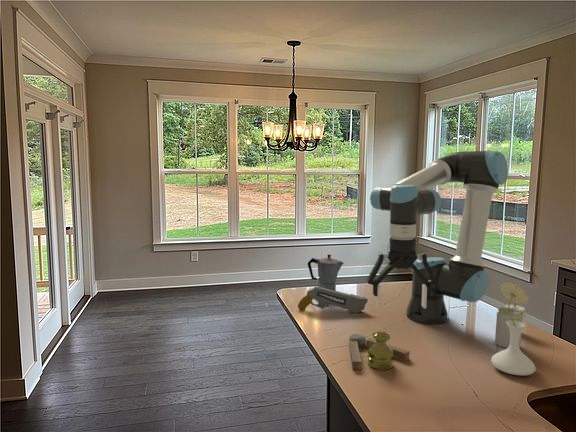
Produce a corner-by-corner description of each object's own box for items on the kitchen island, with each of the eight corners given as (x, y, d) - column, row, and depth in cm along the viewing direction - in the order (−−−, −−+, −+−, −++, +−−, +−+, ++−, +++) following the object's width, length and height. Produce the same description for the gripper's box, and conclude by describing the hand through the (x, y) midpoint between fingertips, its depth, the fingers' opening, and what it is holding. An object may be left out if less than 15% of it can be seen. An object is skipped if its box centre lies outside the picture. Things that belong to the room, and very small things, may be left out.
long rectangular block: (369, 344, 137) (370, 337, 136) (409, 359, 127) (409, 351, 127) (365, 347, 135) (365, 339, 135) (405, 361, 125) (405, 353, 125)
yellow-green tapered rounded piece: (376, 356, 129) (377, 325, 127) (398, 364, 123) (399, 332, 122) (362, 364, 123) (363, 331, 122) (384, 373, 118) (385, 339, 117)
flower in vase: (545, 378, 116) (552, 290, 113) (507, 381, 114) (514, 292, 111) (512, 356, 129) (518, 277, 126) (478, 359, 127) (484, 279, 124)
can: (518, 342, 139) (520, 307, 138) (522, 352, 132) (525, 315, 131) (493, 339, 142) (495, 305, 140) (496, 348, 135) (498, 312, 133)
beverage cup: (525, 335, 145) (528, 296, 143) (506, 334, 146) (509, 295, 144) (519, 329, 151) (522, 291, 149) (501, 327, 152) (503, 290, 150)
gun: (353, 333, 167) (368, 300, 165) (296, 310, 167) (310, 276, 165) (352, 330, 170) (367, 297, 168) (296, 307, 170) (310, 274, 168)
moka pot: (344, 303, 177) (345, 257, 175) (307, 303, 177) (308, 256, 175) (341, 296, 187) (342, 252, 184) (306, 295, 187) (307, 251, 184)
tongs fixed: (364, 341, 139) (364, 334, 139) (371, 370, 120) (372, 362, 119) (348, 341, 139) (348, 333, 139) (352, 369, 120) (352, 361, 120)
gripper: (361, 239, 121) (360, 310, 124) (449, 240, 119) (446, 311, 122) (358, 235, 128) (358, 301, 131) (442, 235, 126) (439, 302, 129)
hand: (400, 306), depth 127 cm, fingers open, 13 cm apart
